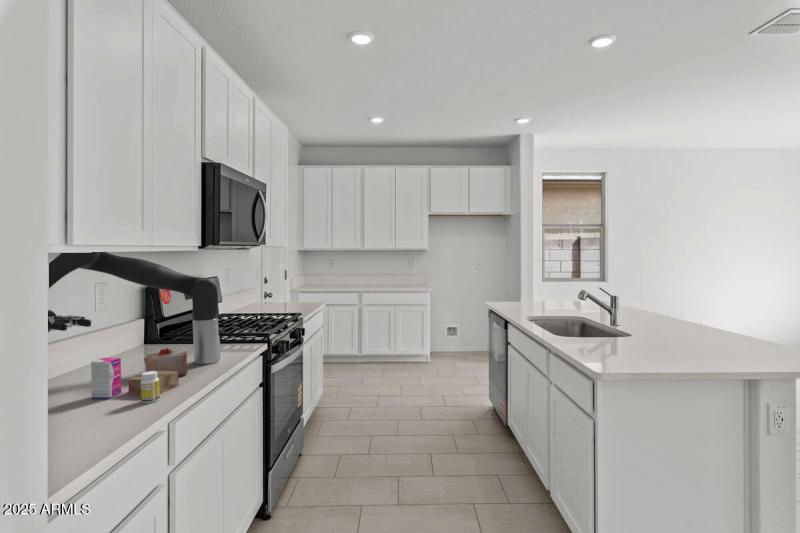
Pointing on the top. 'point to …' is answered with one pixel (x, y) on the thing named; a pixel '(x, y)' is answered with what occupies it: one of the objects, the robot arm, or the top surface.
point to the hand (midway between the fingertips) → (78, 325)
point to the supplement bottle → (150, 387)
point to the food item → (167, 361)
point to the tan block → (165, 382)
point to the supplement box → (106, 378)
